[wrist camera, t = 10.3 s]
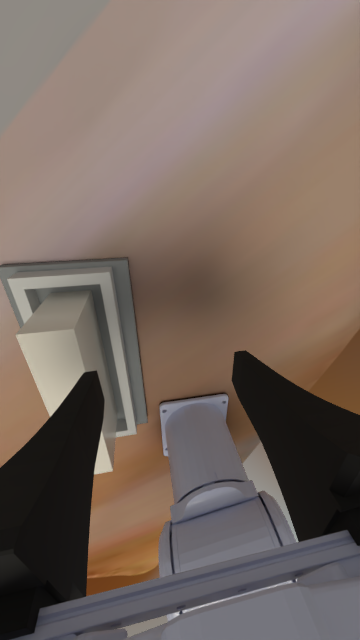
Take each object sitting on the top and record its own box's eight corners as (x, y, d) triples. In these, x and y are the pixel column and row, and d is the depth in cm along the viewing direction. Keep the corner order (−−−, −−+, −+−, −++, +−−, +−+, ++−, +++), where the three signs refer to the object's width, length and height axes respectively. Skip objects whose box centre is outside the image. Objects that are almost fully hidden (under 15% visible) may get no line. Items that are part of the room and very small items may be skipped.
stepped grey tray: (147, 416, 27) (148, 434, 25) (65, 429, 26) (59, 448, 24) (127, 257, 18) (126, 265, 16) (1, 264, 17) (-16, 274, 15)
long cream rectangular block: (117, 413, 25) (112, 471, 20) (88, 417, 25) (75, 477, 19) (91, 290, 18) (73, 329, 13) (50, 293, 18) (15, 334, 13)
